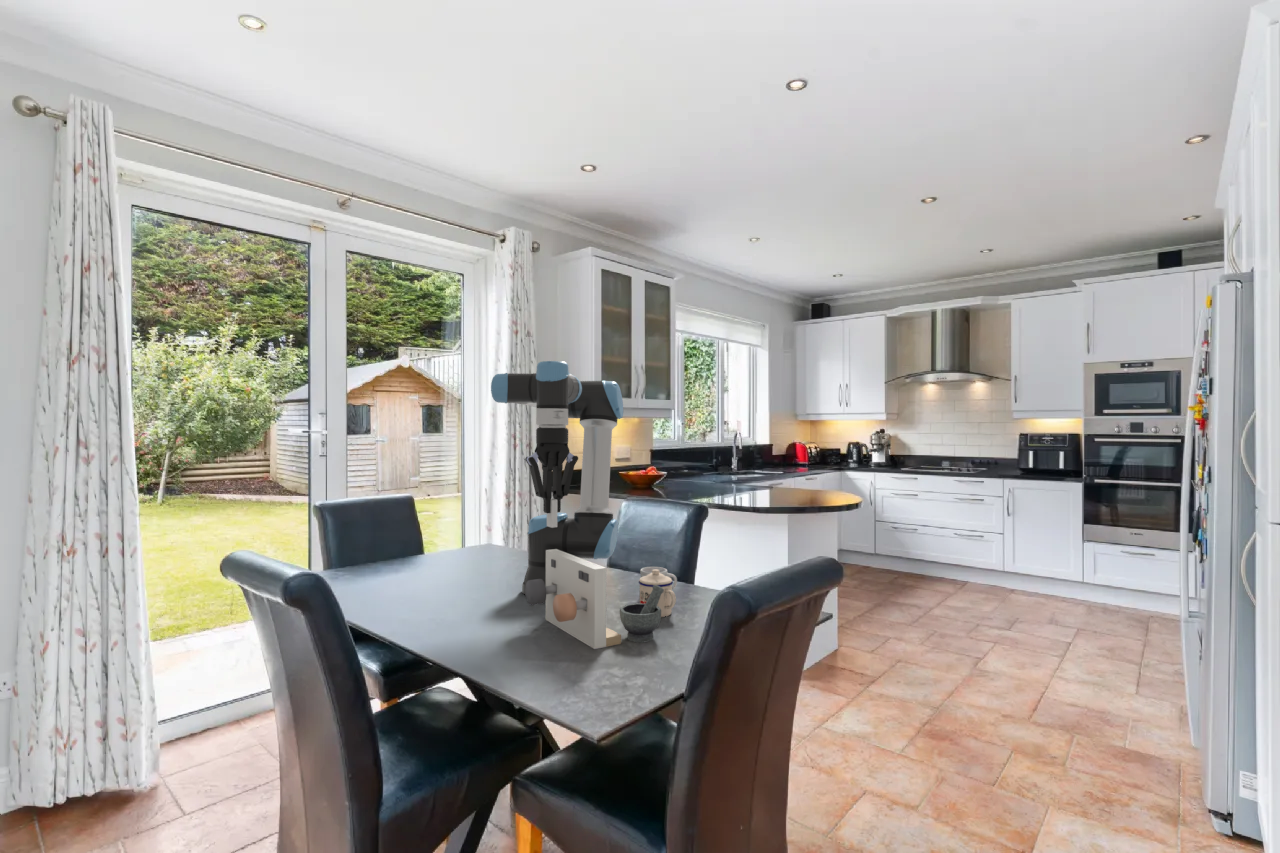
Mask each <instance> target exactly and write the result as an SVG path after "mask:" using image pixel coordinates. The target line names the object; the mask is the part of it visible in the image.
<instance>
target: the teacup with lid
mask: <svg viewBox="0 0 1280 853" xmlns="http://www.w3.org/2000/svg"><path fill="white" fill-rule="evenodd" d="M638 583H639V603H640V604H645V603H646V602H647V600H648V598H649V596H650V594H651V592H652V590H653V586H654V585H657V586H660V587H662V588H663V589H664V592H663V593H662V594H661V596H660V599H659V602H658V604H657V606H658V607H659V608H660V609H661V618H666V617H669V616H671V615H672V614H673V613H672V611H673V610H672V609H673V608H674V607H675V605H676V602H677V598H676V593H675V592H674V591H673V590H672V586H673V584H674V580H673V578H672V577H667V576H665V575H663V574H661V573H659V570H658V569H654V570H652V573H650V574H648V575H647V576H644V577H641V576H640V578H639V580H638ZM665 616H666V617H665Z"/></svg>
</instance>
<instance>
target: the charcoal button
mask: <svg viewBox="0 0 1280 853" xmlns="http://www.w3.org/2000/svg"><path fill="white" fill-rule="evenodd" d="M552 593H557V585H551V586H545V583H544V581H543V580H542V579H535V580H528V581H527V583H526V586H525V594H526V595H525V599H526V601H527V604H529V606H534V605H542V604H545V603H546V594H552Z"/></svg>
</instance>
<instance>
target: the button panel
mask: <svg viewBox="0 0 1280 853" xmlns="http://www.w3.org/2000/svg"><path fill="white" fill-rule="evenodd" d="M551 585H557V593H552V594H546V600H545V620H546V621H547V622H549V623H550V624H551V625H554V626H555V627H557V628H559V629H560V630H562V631H564V632H565V633H567V634H568V635H570V636H572V637H573V638H576V640H578V641H580V642H581V643H583V644H585V645H587V646H588V647H590V648H591V649H594V650H597V649H601V648H607V647H611V646H616V645H621V644H622V634H620V633H618V632H616V631H615V630H613V629H611V628H608V626H607V567H605V566H602V565H600V564H597V563H595V562H593V561H592V562H591V561H589V560H587V559H585V558H579V557H576V556H574V555H571V554H568V553H566V552H563V551H560V550H558V549H551V550H546V586H551ZM566 593H571V594H572V595H573V596H574V598H575V601H579V600H585V599H587V608H585V609H579V610H577V613H576V617H575V619H573V620H569V621H563V622H559V621H557V619H556V617H555V615H554V611H553V600H554V597H555V596H556V595H560V594H566Z"/></svg>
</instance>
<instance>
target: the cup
mask: <svg viewBox="0 0 1280 853" xmlns="http://www.w3.org/2000/svg"><path fill="white" fill-rule="evenodd" d="M654 569H658V570H659V573H661V574H663V575H665V576H667V577H670V578H671V579H672V580H673V584H672V591H673V590H674V589H675V588H676V587H677V585H678V578H677V576H676V575H675V574H673V573H670V572H668V569H667V568H664V567H662V566H661V567H660V566H646V567H642V568H640V570H639V572H640V578H641V577H644V576H647V575H648V574H650V573H652V570H654Z"/></svg>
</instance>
